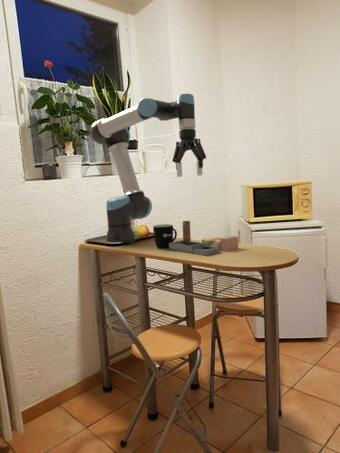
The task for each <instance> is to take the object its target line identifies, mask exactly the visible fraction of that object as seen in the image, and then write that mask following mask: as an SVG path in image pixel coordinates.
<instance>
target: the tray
mask: <svg viewBox="0 0 340 453" xmlns="http://www.w3.org/2000/svg"><path fill="white" fill-rule="evenodd" d="M202 246H205V243H202V242H200V241H199V242H198V241H194V240H193V241H192V240H191V246H189V245H183V239H182V240H175V241H173V242H171V243H169V248H168V249H169V250H170V251H175V252H180V253H182V252H183V253H186V254H188V253H189V254H193V250H192V249H193V248H198V247H202Z"/></svg>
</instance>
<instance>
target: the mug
mask: <svg viewBox="0 0 340 453" xmlns="http://www.w3.org/2000/svg"><path fill="white" fill-rule="evenodd" d="M152 227H153V228H152V229H153V230H152V231H153V237H154V243H155V246H156V248H157V249H160V250H161V249H162V250H163V249H169V243H171V242H175V241H176V239H177V237H178V232H177V230H176V228H174V225H173V224H170V223H169V224H168V223H166V224H155V225H153V226H152Z"/></svg>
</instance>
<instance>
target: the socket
mask: <svg viewBox="0 0 340 453" xmlns="http://www.w3.org/2000/svg"><path fill="white" fill-rule="evenodd" d="M192 250H193V253H192V255H193V254H195V255H200V256H206V257H208V256H213V255H216V254H219V253H221V250H220V248H219V247H212V246H202V247H198V248H193V249H192Z"/></svg>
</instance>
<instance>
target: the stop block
mask: <svg viewBox="0 0 340 453" xmlns="http://www.w3.org/2000/svg"><path fill="white" fill-rule="evenodd" d="M220 238H221V239H220V245H221V250H220V252H221V251H222V252H229V251H233V250H237V249H239V236H238V235H237V236H235V235H231V236H227V237H220Z"/></svg>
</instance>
